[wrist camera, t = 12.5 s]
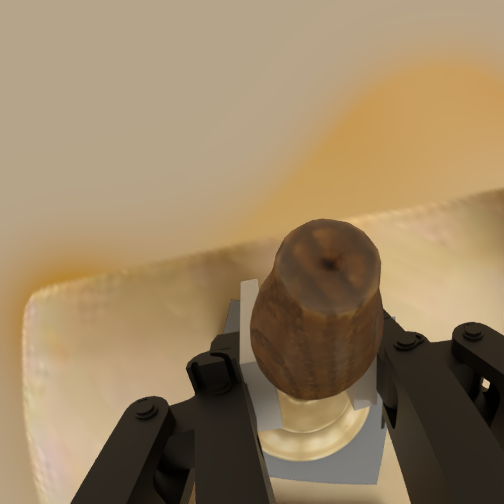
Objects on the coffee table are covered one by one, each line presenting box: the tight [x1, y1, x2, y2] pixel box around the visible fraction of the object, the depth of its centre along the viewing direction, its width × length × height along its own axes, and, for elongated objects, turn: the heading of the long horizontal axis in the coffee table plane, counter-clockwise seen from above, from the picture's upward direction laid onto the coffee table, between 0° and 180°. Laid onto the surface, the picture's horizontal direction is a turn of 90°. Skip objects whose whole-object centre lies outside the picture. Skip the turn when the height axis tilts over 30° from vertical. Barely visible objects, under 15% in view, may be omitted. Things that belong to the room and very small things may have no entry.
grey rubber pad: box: [223, 299, 395, 484], centre depth 17 cm, size 11×11×1 cm
